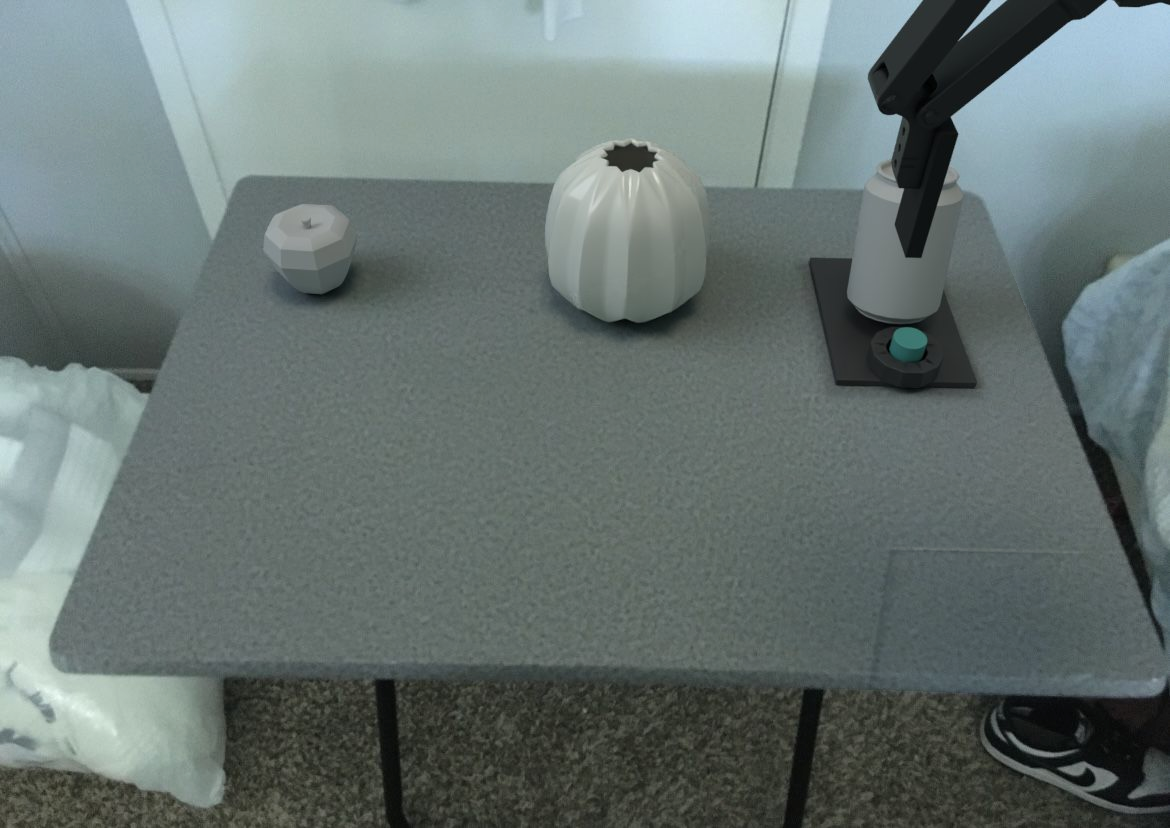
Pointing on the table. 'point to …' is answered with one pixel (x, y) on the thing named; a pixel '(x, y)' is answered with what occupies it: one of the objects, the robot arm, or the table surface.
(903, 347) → the button
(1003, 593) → the table surface
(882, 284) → the can
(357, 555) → the table surface
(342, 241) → the apple
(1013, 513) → the table surface
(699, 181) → the vase
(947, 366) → the scale
